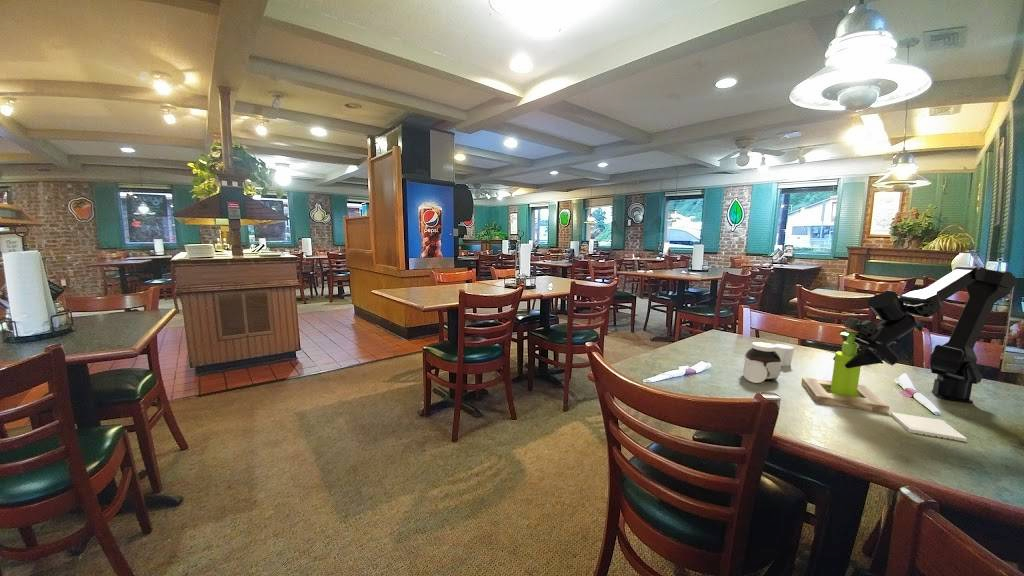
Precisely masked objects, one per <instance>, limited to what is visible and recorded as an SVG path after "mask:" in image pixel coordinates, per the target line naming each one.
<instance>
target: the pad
mask: <svg viewBox="0 0 1024 576" xmlns="http://www.w3.org/2000/svg"><path fill="white" fill-rule="evenodd" d="M889 413H890V414H889V415H890V417H892V418H893V419H894V420H895V421H896V422H897V423H898V424H899V425H901V427H903V428H904V429H905V430H906V431H907V432H908V433H912V434H917V433H918V435H923V434H925V435H924V436H929V435H930V437H935V436H937V437H936V438H941V437H943V438H942V439H947V438H949V440H953V439H954V440H955V441H960V442H967V440H968V438H967V437H965V436H964V435H963V434H961V433H960V432H958V430H956V429H955V428H953V427H952V426H951V425H949V424H948V423H947V422H945V421H944V420H943V419H937V418H930V417H924V416H918V415H912V414H905V413H899V412H894V411H893V412H889Z"/></svg>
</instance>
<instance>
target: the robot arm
mask: <svg viewBox="0 0 1024 576" xmlns="http://www.w3.org/2000/svg"><path fill="white" fill-rule="evenodd" d="M1017 281H1018V280H1017V277H1016V276H1015V275H1014V274H1013V273H1012V272H1011V271H1007V270H1006V271H1005V270H993V269H988V268H985V267H981V266H978V265H977V266H975V265H958V266H956V267H954V269H953V271H950V272H949V273H948V274H946V275H945V276H942V277H941V278H939V279H938V280H936V281H935V282H933V283H931V284H930V285H928V286H927V287H925V288H922V289H917V290H912V291H909V292H907V293H905V294H902V295H900V297H899V295H898V294H897V292H896V291H895V290H887V289H886V290H885V291H884V292H883V293H882V292H881V293H878V294H876V295H873V296H871V297H870V298H868V300H867V305H868V307H870V309H871V310H872V311H873V313H875V315H876V316H877V317H878V318H879V319H880V320H882V321H880V322H879V323H876V322H873V321H870V320H867V319H865V320H863V321H861V320H859V319H856V318H853V317H850V316H849V318H848V319H847V320H846V322H845V323H844V325H843V327H845V328H844V329H842V330H840V331H839V332H838V334H839V335H840V334H841V333H843V332H846V331H853V332H857V333H858V335H855V342H856V343H857V344H858V348H857V355H856V356H855V357H853V358H852V359H851V360H850V361H849V362H847V363H846V364H845V367H846V368H853V367H859V366H861V367H863V366H869V365H877V364H881V365H883V364H884V363H886V364H887V365H890V366H892V367H893V366H894V365H896V364H897V363H899V361H900V355H898V354H897V353H896V352H895V351H894V350H893V349H891V347H889V346H890V345H891V344H893V343H895V344H896V345H897V344H899V343H901V341H900V340H899V339H900V338H902V337H904V336H906V335H907V334H908V333H910V332H911V331H913V330H916V331H917V332H920V333H921V332H923V329H924V328H923V324H924V322H923V321H921V320H920V319H916V318H915V317H921V318H931V317H932V316H934V315H935V314H936V313H938V311H940V310H941V309H942V303H943V302H944V301H946V300H947V299H949V298H950V297H952V296H953V295H955V294H957V293H958V292H960V291H962V290H963V289H964V288H965V289H966V292H967V294H968V299H967V301H966V303H965V305H964V308H963V309H962V312H961V314H960V316H959V318H958V321H957V323H956V324H955V327H954V329H953V331H952V333H951V335H950V338H949V340H948V341H947V342H945V343H944V344H942V345H940V344H936V345H935V346H934V349H933V352H931V354H930V356H929V366H930V371H931V374H933V375H934V374H935V375H937V378H934V380H933V386H932V387H933V388H932V389H931V393H933V394H935V395H936V396H938V397H939V398H941V399H942V400H948V401H954V402H961V403H970V404H973V403H974V401H973V400H972V399H971V394H972V388H973V384H974V385H977V384H979V383H981V381H982V379H983V378H984V376H983V374H982V373H981V371H980V370H979V369H978V367H977V366H976V365H977V362H978V358H977V355H976V353H975V351H974V347H975V345H976V344H977V341H978V339H979V337H980V336H981V332H982V331H983V329H984V326H985V324H986V322H987V321H988V318H989V316H990V314H991V312H992V310H993V307H994V305H995V304H996V302H998V301H1000V300H1003V298H1004V299H1005V298H1006V297H1008V295H1009V294H1010V293H1011V292H1012V290H1013V288H1014V287H1015V286H1016V285H1017ZM846 328H847V329H846ZM841 339H842V343H843V342H844V341H847V337H846V336H841ZM838 351H842V346H840V348H839V350H838ZM832 359H833V361H835V356H834V357H833V358H832Z"/></svg>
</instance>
